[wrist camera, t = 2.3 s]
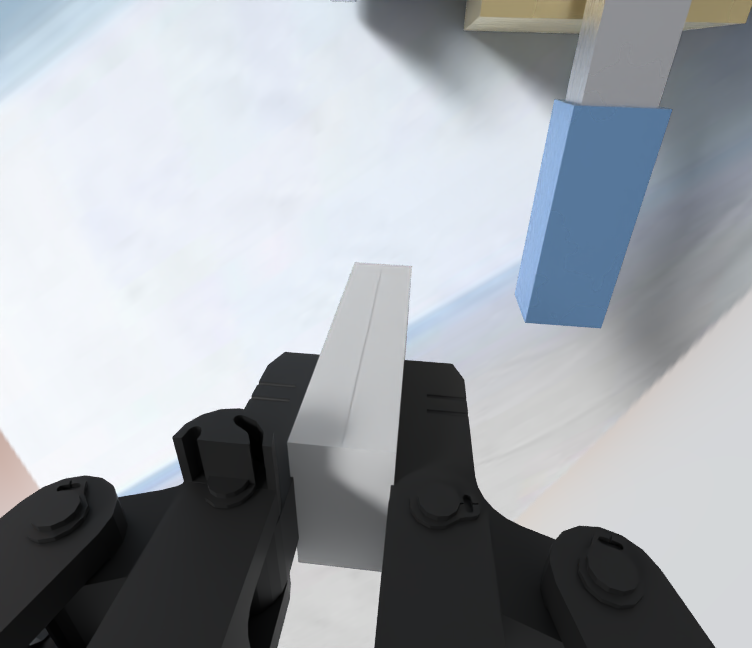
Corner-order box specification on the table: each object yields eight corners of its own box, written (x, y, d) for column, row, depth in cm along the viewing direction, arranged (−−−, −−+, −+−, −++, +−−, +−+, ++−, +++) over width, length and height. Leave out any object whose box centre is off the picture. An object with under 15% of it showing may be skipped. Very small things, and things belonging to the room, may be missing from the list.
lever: (590, -271, 12) (630, -353, 10) (786, -276, 12) (876, -361, 10) (491, 290, 21) (500, 321, 18) (603, 298, 21) (626, 330, 18)
